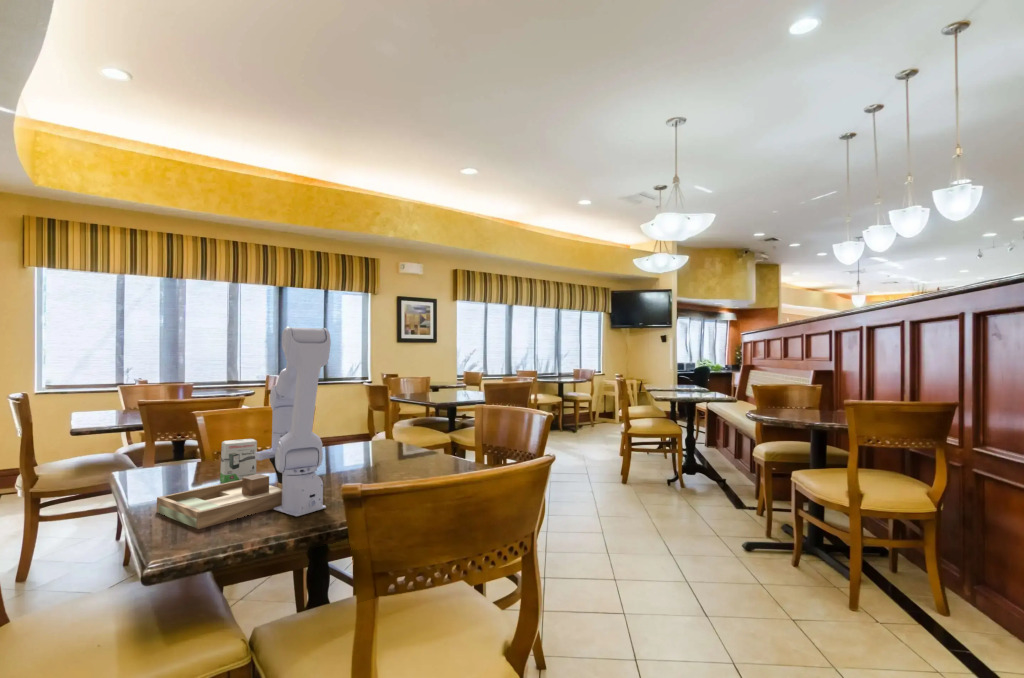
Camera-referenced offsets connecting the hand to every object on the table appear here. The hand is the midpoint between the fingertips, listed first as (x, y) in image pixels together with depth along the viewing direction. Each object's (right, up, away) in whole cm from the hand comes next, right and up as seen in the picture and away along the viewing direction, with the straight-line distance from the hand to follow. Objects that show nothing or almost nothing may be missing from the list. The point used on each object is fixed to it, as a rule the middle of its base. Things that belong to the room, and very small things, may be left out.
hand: (282, 482), depth 131 cm
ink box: (-19, -3, +13) cm, 23 cm away
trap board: (-7, -3, -11) cm, 14 cm away
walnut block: (-4, -1, -6) cm, 7 cm away
